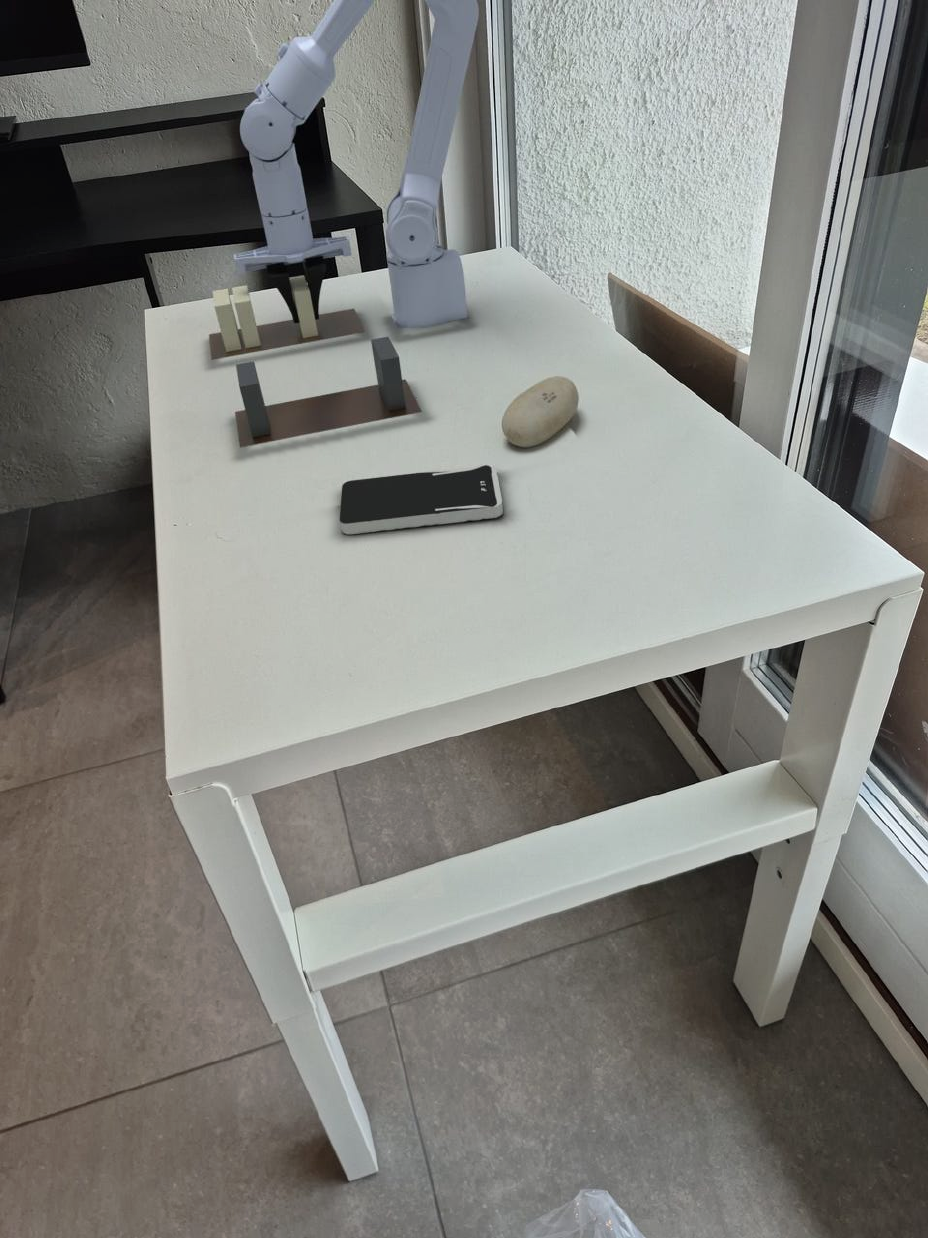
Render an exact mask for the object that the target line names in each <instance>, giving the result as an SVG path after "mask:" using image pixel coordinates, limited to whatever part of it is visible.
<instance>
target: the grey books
mask: <svg viewBox="0 0 928 1238" xmlns="http://www.w3.org/2000/svg"><path fill="white" fill-rule="evenodd" d="M370 343H371V348H372V356H373V361H374V367H375V375H376V380H377V385H378V388H379V391H380V393H381V395H382V398H383V400H384V402H385V404H386V407H387V409H388V411H394V410H399V409H404V408H406V404H405V396H404V389H403V382H402V380H403V376H402V375H403V374H402V369H401V368H402V367H401V361H400V356H399V354H398V352H397V350H396V348H395V346H394V344H393V343H392V341H391V339H390V336H384V337H378V338H373V339H370ZM235 368H236V374H237V381H238V387H239V391H240V395H241V399H242V403H243V407H244V410H245V411H246V415H247V419H248V422H249V426H250V430H251V434H252V438H256V437H261V436H266V435H271V432H270V427H269V422H268V417H267V412H266V408H265V406H266V404H265V400H264V396H263V392H262V388H261V384H260V380H259V376H258V375H259V374H258V371H257V367H256V363H255V361H254V360H253V361H247V362H243V363H237V364H235Z"/></svg>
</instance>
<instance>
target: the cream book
mask: <svg viewBox="0 0 928 1238" xmlns="http://www.w3.org/2000/svg"><path fill="white" fill-rule="evenodd" d="M289 279H290V284H291V289H292V295H293V300H294V303H295V307H296V310H297V313H298V318H299V323H298V324H299V327H300V330H301V333H302V336H303V338H307V337H313V336H318V331H317V326H316V321H315V316H314V311H313V306H312V300H311V295H310V290H309V287H308V284H307V279H306V276H305V275H298V276H292V277H289Z"/></svg>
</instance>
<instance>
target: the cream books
mask: <svg viewBox="0 0 928 1238" xmlns="http://www.w3.org/2000/svg"><path fill="white" fill-rule="evenodd" d="M231 291H232V297H233V298H232V299H233V301H234V302H233V303H234V307H235V311H236V315H237V319H238V323H239V327H240V329H241V331H242V335H243V340H244V344H245V348H252V347H257V346H261V343H260V338H259V334H258V329H257V326H258V325H257V321H256V317H255V313H254V309H253V305H252V304H253V303H252V300H251V295H250V292H249V288H248V285H247V284H246V285H241V286H235V287H234V286H233V287H232V288H231ZM212 298H213V306H214V307H213V308H214V310H215V314H216V318H217V322H218V326H219V329H220V332H221V333H222V337H223V341H224V345H225V349H226V352H230V351H236V350H241V349H242V347H241V341H240V336H239V331H238V329H239V327H238V323H237V319H236V315H235V311H234V307H233V303H232V300H231V295H230V292H229V288H223V289H222V288H221V289H216V290H212Z"/></svg>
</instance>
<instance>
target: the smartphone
mask: <svg viewBox="0 0 928 1238" xmlns="http://www.w3.org/2000/svg"><path fill="white" fill-rule="evenodd" d="M340 495H341V497H340V509H339V523H340V528H341V532H342V534H344V535H348V536H349V535H351V536H352V535H358V534H367V533H368V534H369V533H377V532H385V531H394V530H403V529H412V528H419V527H427V526H428V527H429V526H437V525H446V524H455V523H464V522H471V521H472V522H473V521H480V520H482V521H483V520H489V519H490V520H491V519H497V518H499V517H501V516H502V515H503V513H504V508H503V499H502V493H501V486H500V482H499V476H498V470H497V467H496V466H495V465H492V464H481V465H473V466H466V467H455V468H447V469H440V470H430V471H421V472H414V473H413V472H411V473H404V474H396V475H387V476H377V477H371V478H370V477H369V478H360V479H352V480H348V481H346V482H344V483H343V484H342V485H341V494H340Z"/></svg>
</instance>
